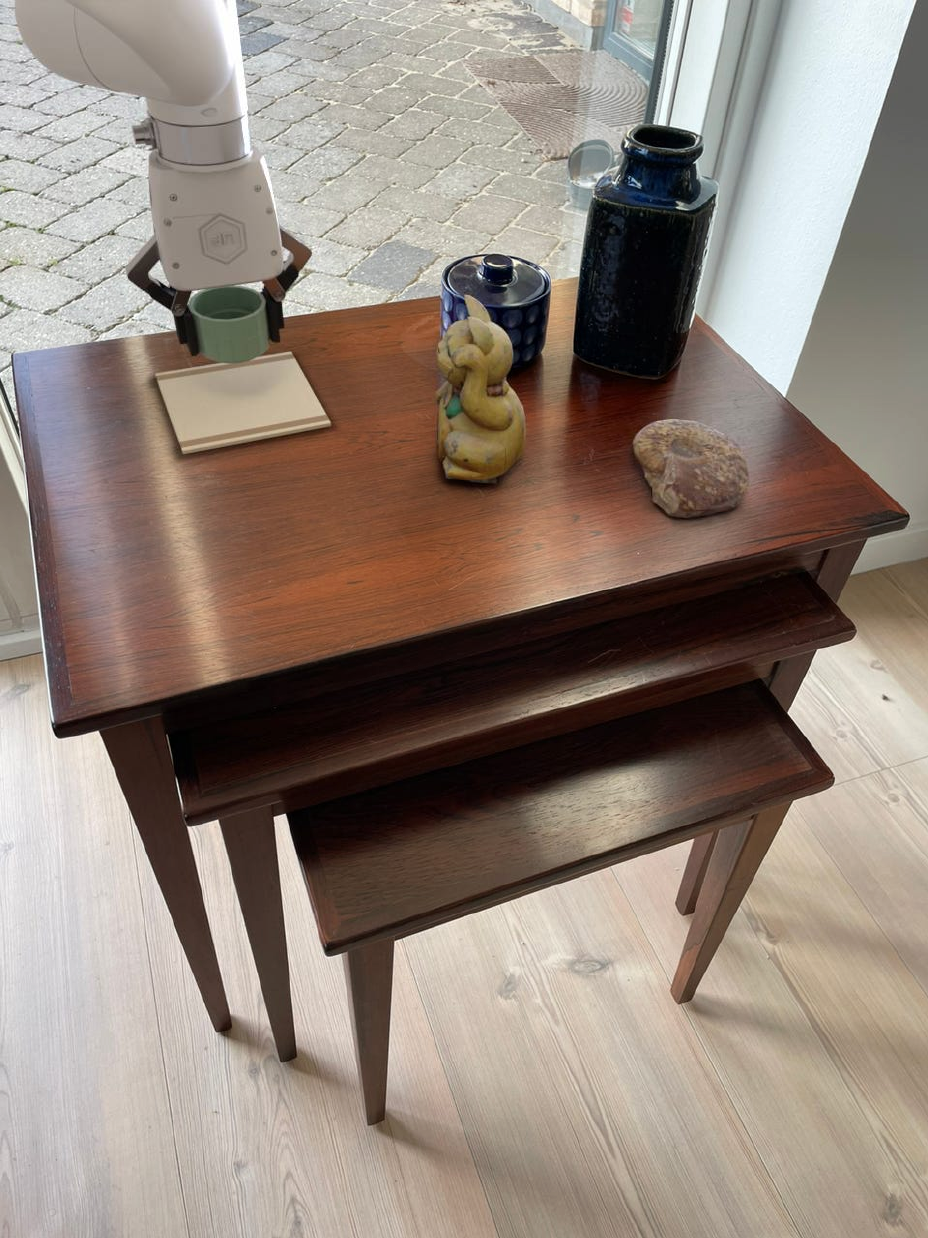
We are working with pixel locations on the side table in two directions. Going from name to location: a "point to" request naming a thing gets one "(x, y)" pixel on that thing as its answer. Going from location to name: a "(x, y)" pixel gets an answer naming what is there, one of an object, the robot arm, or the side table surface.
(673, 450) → the fossil
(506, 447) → the decorative figurine
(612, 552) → the side table surface
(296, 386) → the cloth
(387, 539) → the side table surface
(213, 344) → the bowl
